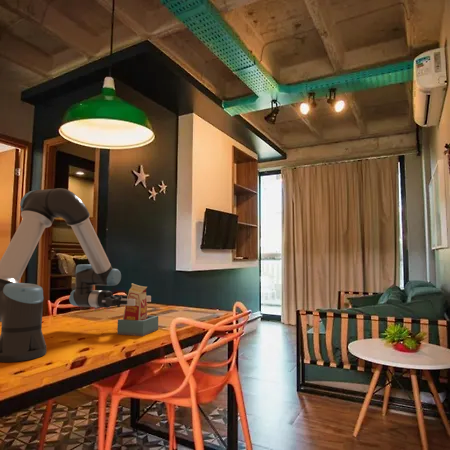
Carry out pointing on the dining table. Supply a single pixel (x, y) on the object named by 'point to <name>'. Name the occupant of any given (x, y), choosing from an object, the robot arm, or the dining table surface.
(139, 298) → the milk carton
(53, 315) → the dining table surface
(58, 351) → the dining table surface
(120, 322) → the box
